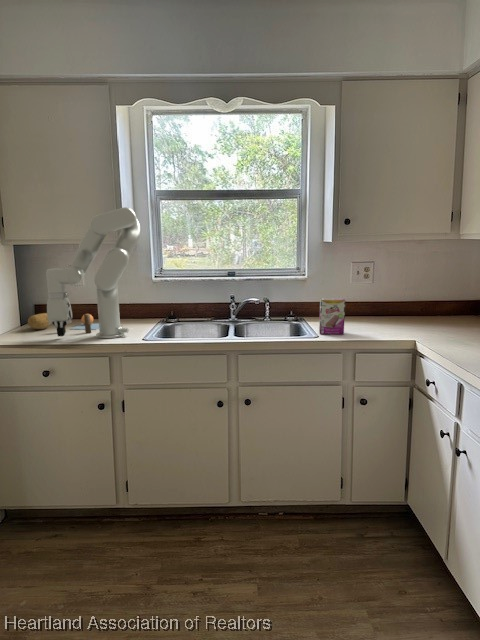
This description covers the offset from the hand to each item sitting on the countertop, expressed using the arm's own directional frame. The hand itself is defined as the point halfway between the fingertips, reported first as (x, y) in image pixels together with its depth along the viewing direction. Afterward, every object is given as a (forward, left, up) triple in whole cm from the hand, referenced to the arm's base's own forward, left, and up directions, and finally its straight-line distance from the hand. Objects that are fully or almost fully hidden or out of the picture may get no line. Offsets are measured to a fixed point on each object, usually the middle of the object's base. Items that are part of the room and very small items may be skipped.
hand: (61, 335), depth 199 cm
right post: (-6, -13, -2) cm, 15 cm away
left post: (+6, -13, -2) cm, 15 cm away
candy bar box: (-123, -20, -2) cm, 125 cm away
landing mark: (0, -27, -2) cm, 27 cm away
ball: (+2, -31, +2) cm, 31 cm away
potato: (+22, -20, -2) cm, 30 cm away
